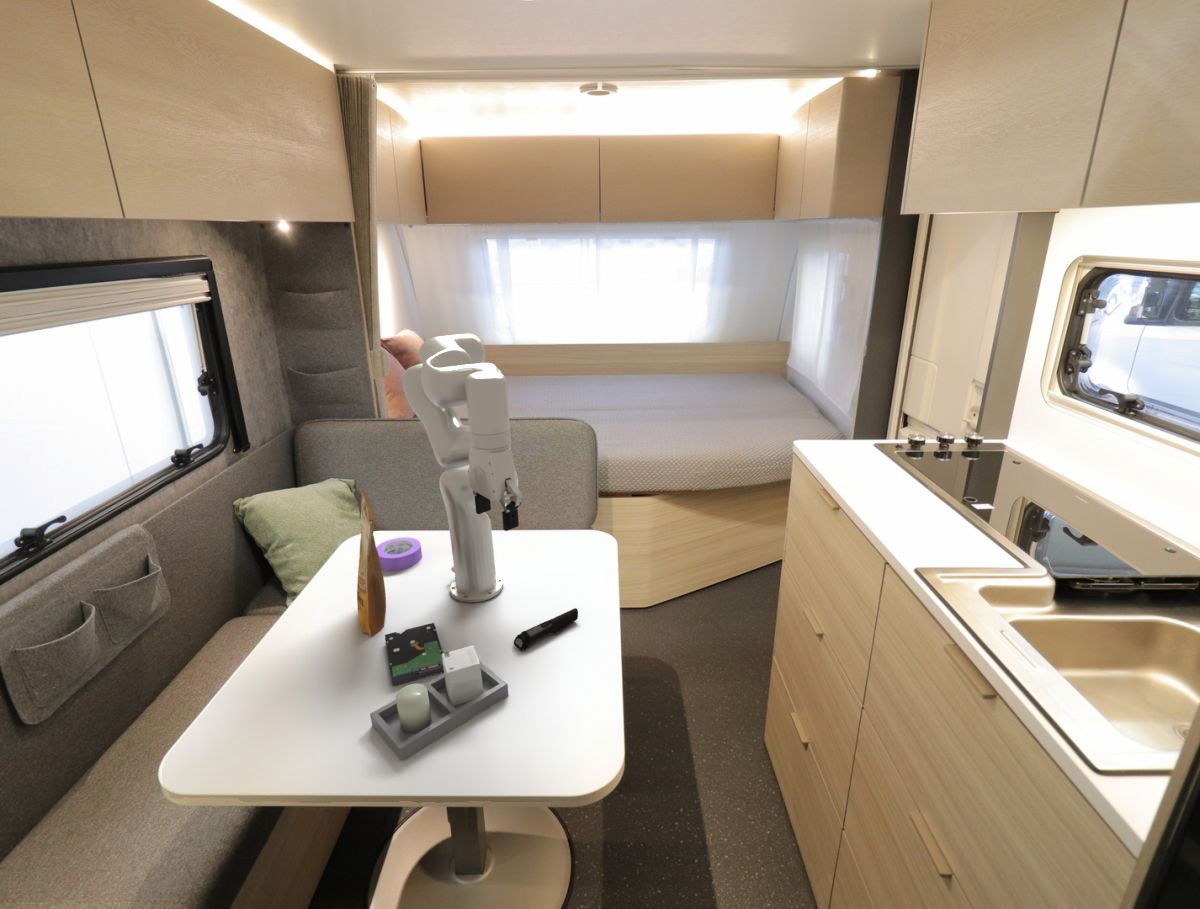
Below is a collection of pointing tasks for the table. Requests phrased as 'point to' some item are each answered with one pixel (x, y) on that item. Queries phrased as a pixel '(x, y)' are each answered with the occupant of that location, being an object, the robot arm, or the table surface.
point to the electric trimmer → (545, 629)
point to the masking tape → (401, 560)
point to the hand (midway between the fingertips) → (497, 519)
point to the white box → (462, 675)
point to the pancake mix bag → (370, 576)
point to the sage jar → (413, 708)
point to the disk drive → (414, 654)
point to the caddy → (436, 714)
